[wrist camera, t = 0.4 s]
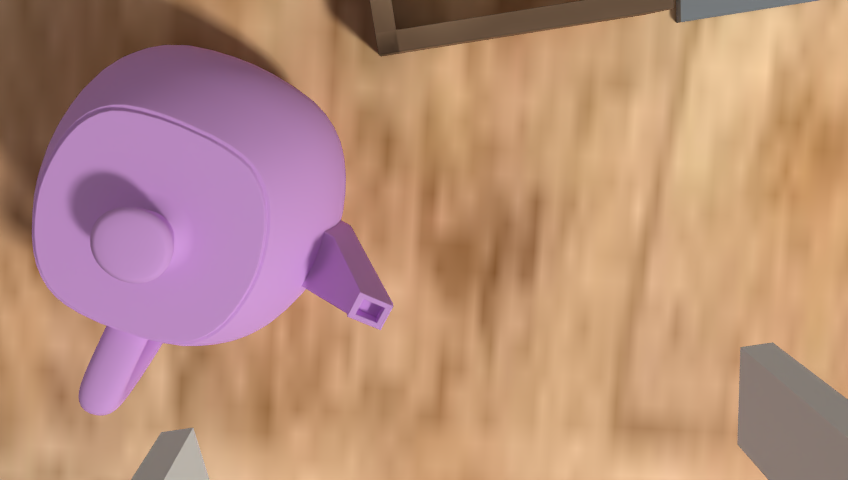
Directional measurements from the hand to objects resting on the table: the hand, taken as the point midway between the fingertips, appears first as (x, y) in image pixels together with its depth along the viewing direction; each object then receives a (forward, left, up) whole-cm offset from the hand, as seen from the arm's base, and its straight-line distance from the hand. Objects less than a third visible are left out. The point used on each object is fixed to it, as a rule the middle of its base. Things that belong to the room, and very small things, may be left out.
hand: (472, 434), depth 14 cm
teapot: (-1, -12, -27) cm, 30 cm away
